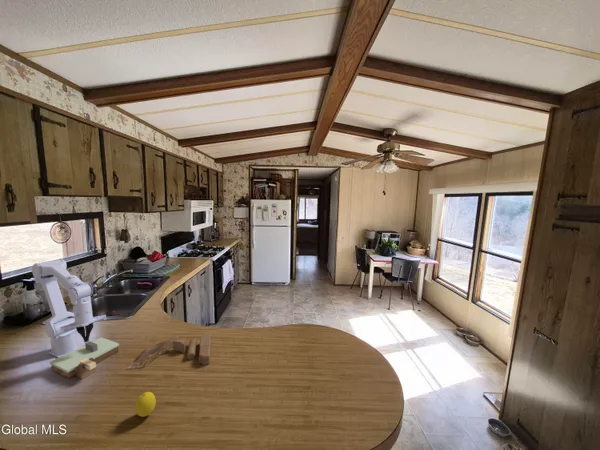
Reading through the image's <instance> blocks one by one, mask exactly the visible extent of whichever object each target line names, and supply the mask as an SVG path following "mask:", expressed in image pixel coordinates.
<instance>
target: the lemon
mask: <svg viewBox="0 0 600 450" xmlns="http://www.w3.org/2000/svg"><path fill="white" fill-rule="evenodd" d="M156 403H157V401H156V396H155V395H154V393H153V392H151V391H145V392H143V393H142V394H141V395H139V397H138V398H137V399H136V404H135V412H136V413H135V414H137V416H139V417H142V418H145V417H147V416H149V415H151V414H152V412H153V411H154V409H155V408H156Z"/></svg>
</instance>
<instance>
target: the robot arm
mask: <svg viewBox="0 0 600 450" xmlns="http://www.w3.org/2000/svg"><path fill="white" fill-rule="evenodd" d="M67 265H68V264H67V262H66V260H64V259H63V258H59V259H55V260H48V261H44V262H36V263H34V264H33V265H32V266H31V273H32V275H33V279H34V281H35V282H36V283H40V284H41V285H42V289H43V291H44V294H45V297H46V300H47V304H48V306H49V310H50V312H51V313H50V314H51V315H52V316H51V317H50V318H49V319H48V320H47V321H46V322H45V328H46V329H45V331H46V334H47V336H48V337H49V338H50V347H51V351H49V354H50V355H52V356H54V357H55V358H59V357H61V356H63V355H65V354H67V353H70V352H72V351H74V350H76V349H78V348H80V347H81V346H79V345H78V344H77V338H76V332H77V333H78V334H79V335H80V336H81V337H82V339H83V342H84V344H85V343H87V342H89V341H90V335H91V333H92V330H93V329H94V324H95V323H98V322H101V321H104V322H105V321H106V320H107V315H106V314H102V315H97V316H94V315H93V307H92V306H93V305H92V297H91V296H92V295H94V287H93V285H92V284H91V282H83V280H81V278H79V277H78V276H77V275H74V274H71V273H70V272H69V271H68V268H67V267H68V266H67ZM58 280H60V286H61V287H62V288H64V289H65V290H66V292H68V297H69V300H70V303H71V304H72V307H73V309H72V310H73V312H71V311H67V307H66V304H65V301H64V299H63V298H64V297H63V295H62V292H61V288H60V287H59V282H58Z"/></svg>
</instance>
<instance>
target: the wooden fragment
mask: <svg viewBox="0 0 600 450" xmlns="http://www.w3.org/2000/svg"><path fill="white" fill-rule="evenodd" d="M178 338H179V335H176V336H173V337H171V338H169V339H166V340H164V341H162V342H160V343H157V344H155V345H153V346H150V347H149V348H146V349H144V351H142V352H140V354H138V356H137V357H136V358H135V359H134V360H133V361H132V362H131V364H129V365H128V367H127V368H126V370H127V369H134V370H136V369H135V368H138V369H143V368H146V367H147V366H148V365H149V364H150V363H151V362H152V361H154V360H155V359H157V358H158V357H160V356H161V355H164V354H165V353H167V352H169V351H170V350H171V349H173V341H176V340H178ZM138 362H139V363H140V364H135V363H138ZM142 367H143V368H142Z"/></svg>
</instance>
